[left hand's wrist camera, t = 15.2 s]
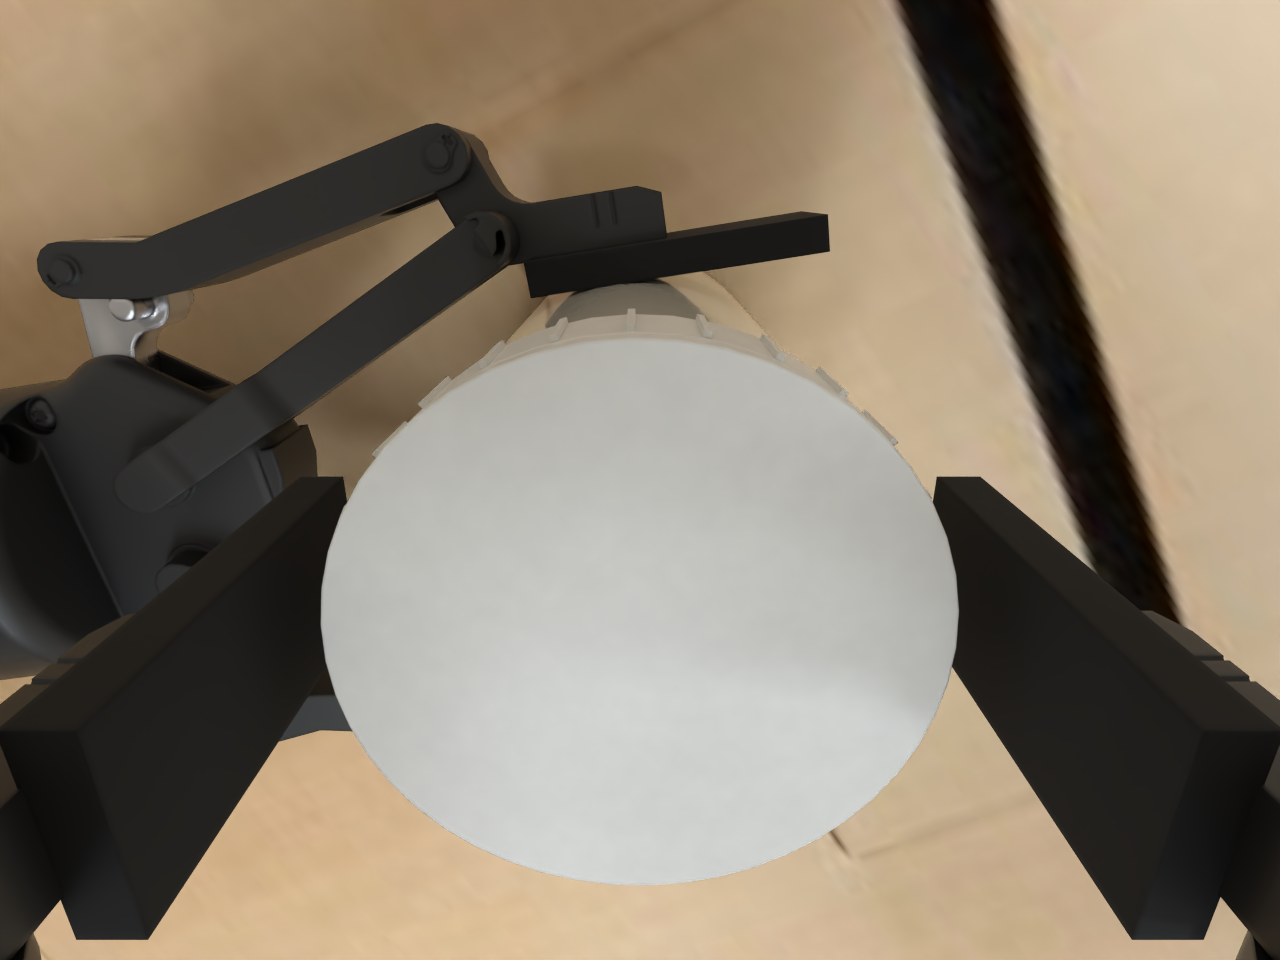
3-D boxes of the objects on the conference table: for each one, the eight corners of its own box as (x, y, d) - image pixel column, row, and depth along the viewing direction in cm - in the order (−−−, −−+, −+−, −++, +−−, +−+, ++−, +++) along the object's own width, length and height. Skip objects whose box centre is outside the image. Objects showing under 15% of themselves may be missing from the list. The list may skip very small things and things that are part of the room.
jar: (773, 257, 23) (971, 353, 9) (753, 498, 26) (879, 842, 12) (511, 251, 23) (320, 340, 9) (521, 494, 26) (386, 834, 12)
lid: (315, 315, 10) (249, 340, 9) (950, 298, 10) (1013, 321, 9) (404, 803, 14) (369, 893, 12) (888, 794, 14) (926, 884, 12)
